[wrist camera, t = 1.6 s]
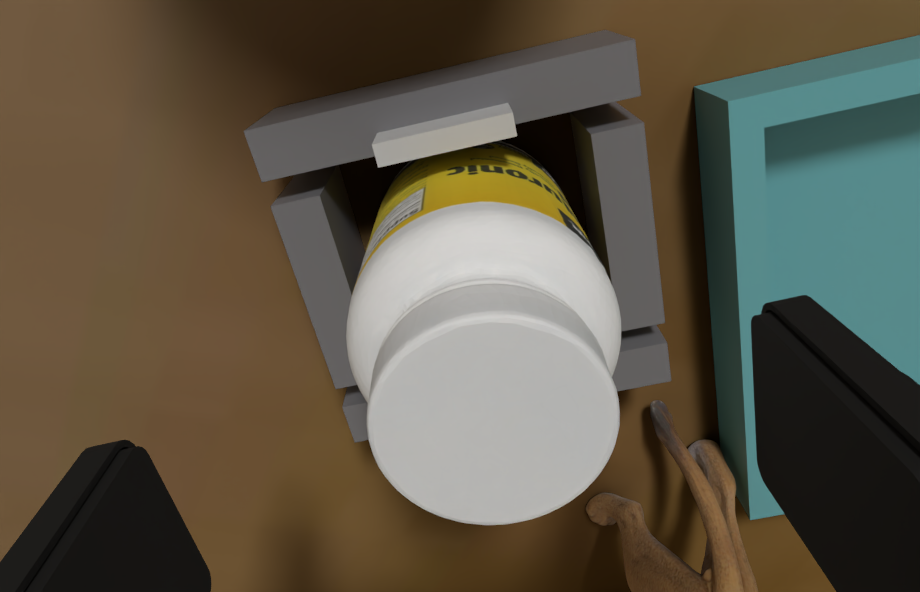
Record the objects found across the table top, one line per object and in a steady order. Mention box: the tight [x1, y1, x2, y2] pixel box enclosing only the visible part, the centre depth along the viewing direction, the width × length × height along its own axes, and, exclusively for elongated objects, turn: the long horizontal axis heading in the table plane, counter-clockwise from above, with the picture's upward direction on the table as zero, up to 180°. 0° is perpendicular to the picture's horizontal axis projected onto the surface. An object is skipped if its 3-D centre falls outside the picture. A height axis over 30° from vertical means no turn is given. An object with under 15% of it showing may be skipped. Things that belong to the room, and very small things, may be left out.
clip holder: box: [244, 30, 671, 442], centre depth 17 cm, size 9×9×4 cm
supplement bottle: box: [346, 140, 621, 525], centre depth 15 cm, size 5×5×10 cm
